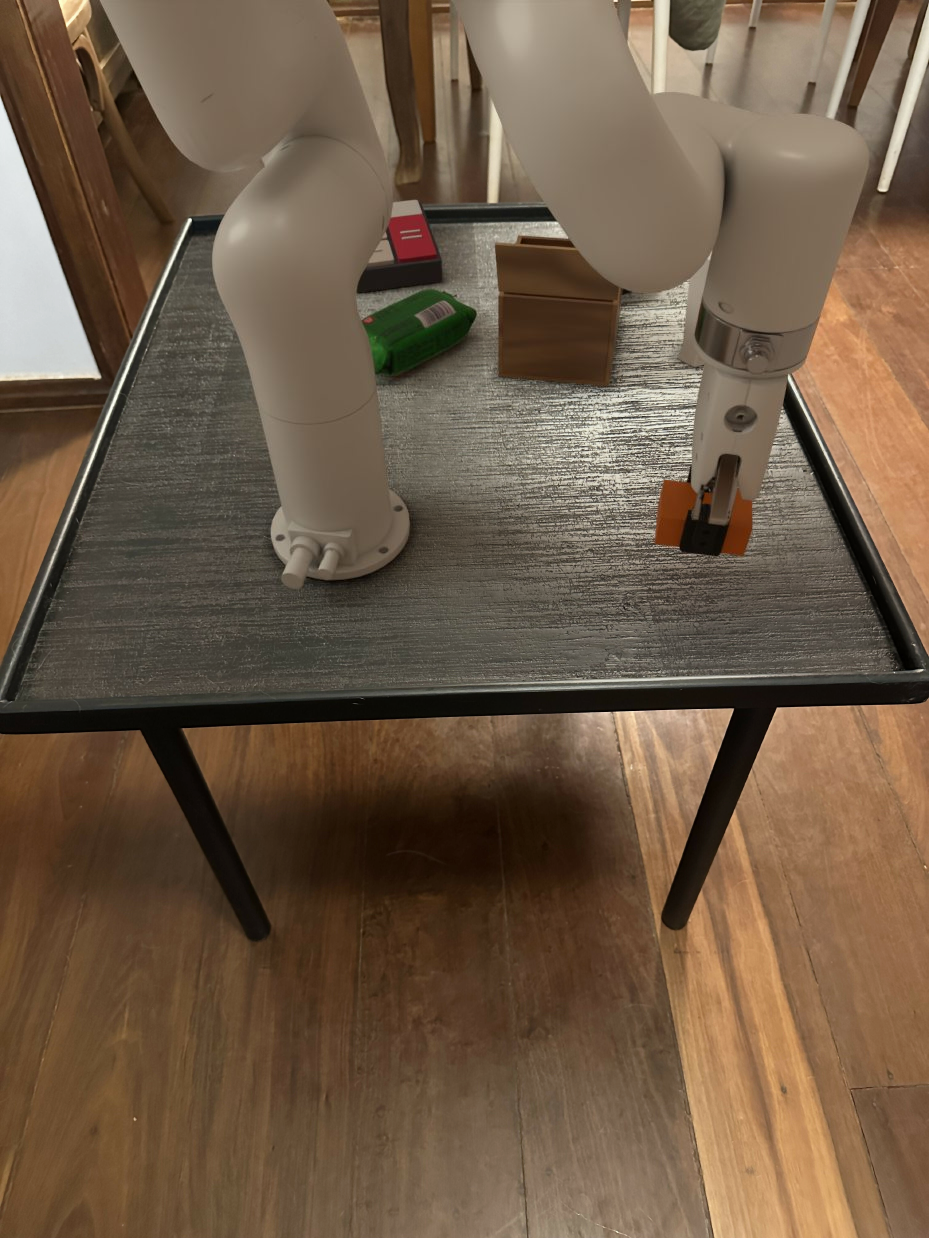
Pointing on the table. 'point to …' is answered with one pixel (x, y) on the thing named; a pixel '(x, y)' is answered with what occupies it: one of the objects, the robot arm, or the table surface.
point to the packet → (681, 499)
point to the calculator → (403, 252)
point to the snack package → (416, 330)
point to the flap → (549, 272)
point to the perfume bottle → (693, 315)
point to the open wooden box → (556, 333)
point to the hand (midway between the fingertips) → (700, 527)
